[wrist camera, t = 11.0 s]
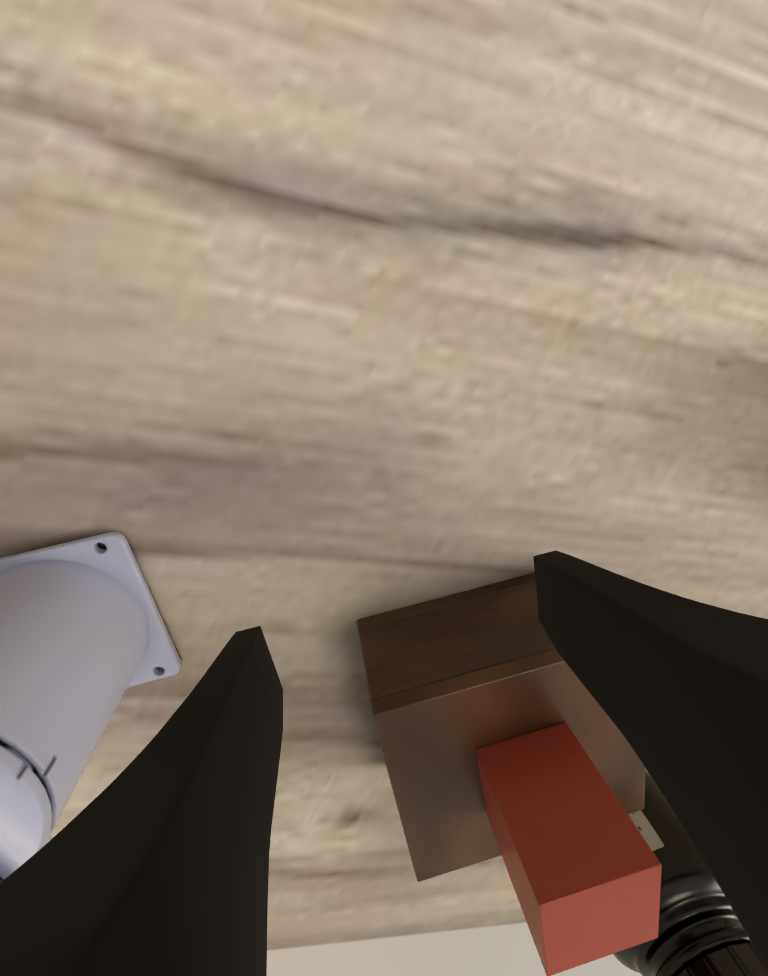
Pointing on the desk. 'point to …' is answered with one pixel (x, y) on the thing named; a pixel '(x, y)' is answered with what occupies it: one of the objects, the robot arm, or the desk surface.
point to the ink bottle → (687, 907)
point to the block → (569, 849)
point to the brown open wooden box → (474, 712)
